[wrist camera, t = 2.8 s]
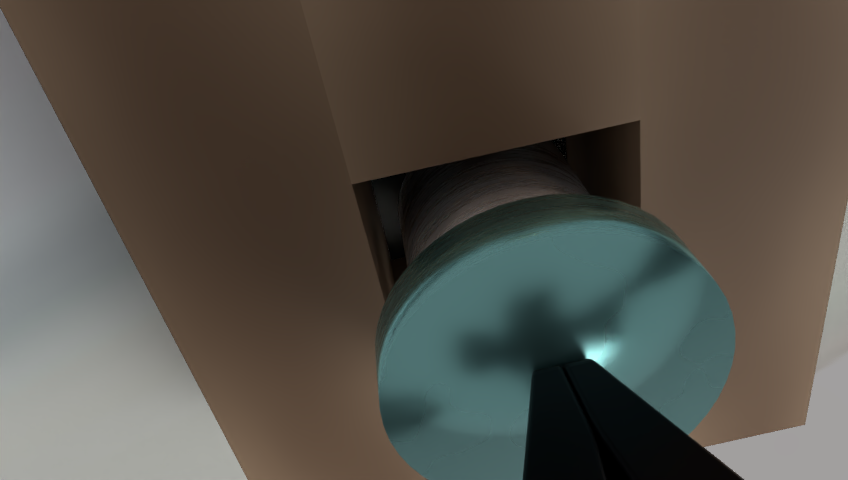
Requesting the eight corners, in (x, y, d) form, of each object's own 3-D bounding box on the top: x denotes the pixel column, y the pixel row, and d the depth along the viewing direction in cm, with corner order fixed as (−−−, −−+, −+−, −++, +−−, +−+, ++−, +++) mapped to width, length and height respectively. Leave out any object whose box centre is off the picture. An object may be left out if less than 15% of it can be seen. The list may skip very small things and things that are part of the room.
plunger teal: (601, 58, 12) (750, 193, 8) (609, 274, 15) (724, 462, 11) (334, 118, 12) (337, 285, 8) (391, 322, 15) (417, 530, 11)
